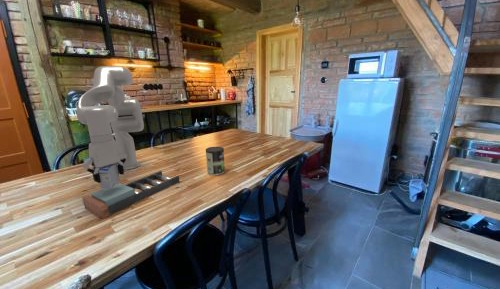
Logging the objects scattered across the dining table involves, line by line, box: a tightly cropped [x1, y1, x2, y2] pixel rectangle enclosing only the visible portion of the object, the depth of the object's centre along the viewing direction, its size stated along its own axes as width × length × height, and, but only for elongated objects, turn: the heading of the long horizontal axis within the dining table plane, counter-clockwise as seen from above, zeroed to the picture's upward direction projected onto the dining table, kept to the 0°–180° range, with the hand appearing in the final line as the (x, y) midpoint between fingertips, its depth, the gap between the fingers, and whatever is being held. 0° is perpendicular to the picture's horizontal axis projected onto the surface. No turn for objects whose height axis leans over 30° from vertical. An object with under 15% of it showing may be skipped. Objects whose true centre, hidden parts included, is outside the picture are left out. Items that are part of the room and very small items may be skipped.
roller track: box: [81, 170, 181, 219], centre depth 104 cm, size 15×38×5 cm, turn 148°
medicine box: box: [97, 163, 121, 189], centre depth 93 cm, size 8×4×9 cm, turn 8°
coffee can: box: [205, 146, 226, 176], centre depth 127 cm, size 10×10×14 cm
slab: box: [90, 182, 136, 206], centre depth 95 cm, size 12×12×3 cm
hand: (110, 177), depth 93 cm, fingers closed on medicine box, 9 cm apart
